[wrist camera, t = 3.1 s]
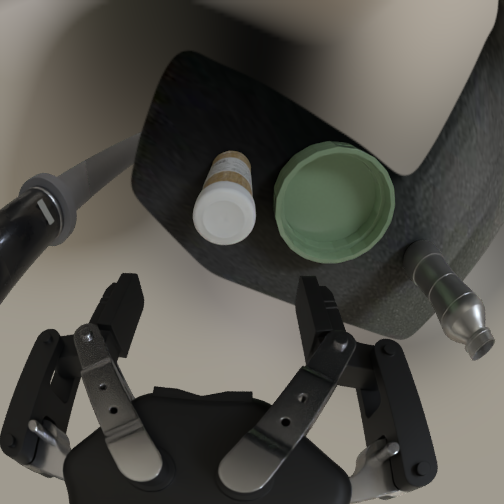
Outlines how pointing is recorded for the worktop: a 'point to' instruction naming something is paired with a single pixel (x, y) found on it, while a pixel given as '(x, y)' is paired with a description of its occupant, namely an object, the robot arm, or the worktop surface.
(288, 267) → the worktop surface
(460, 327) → the plastic bottle
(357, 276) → the worktop surface
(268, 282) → the worktop surface
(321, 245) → the bowl
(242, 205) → the sprinkles bottle
